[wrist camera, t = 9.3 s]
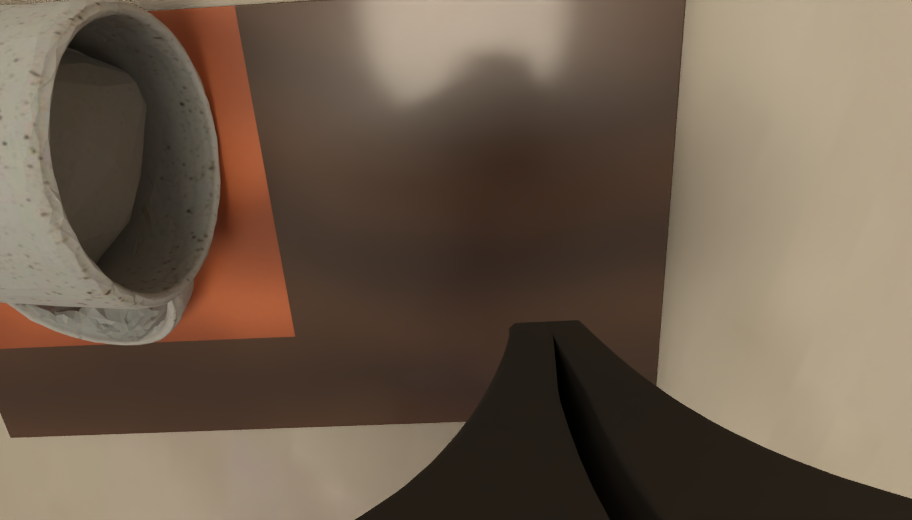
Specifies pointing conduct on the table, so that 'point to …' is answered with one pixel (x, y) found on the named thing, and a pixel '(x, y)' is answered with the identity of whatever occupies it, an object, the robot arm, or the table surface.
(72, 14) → the ceramic mug
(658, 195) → the walnut board
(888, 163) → the table surface
